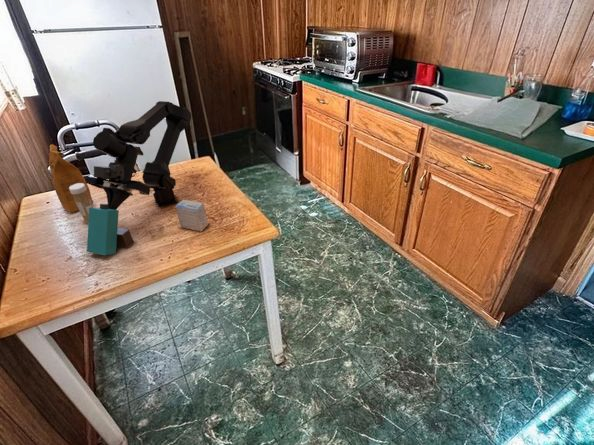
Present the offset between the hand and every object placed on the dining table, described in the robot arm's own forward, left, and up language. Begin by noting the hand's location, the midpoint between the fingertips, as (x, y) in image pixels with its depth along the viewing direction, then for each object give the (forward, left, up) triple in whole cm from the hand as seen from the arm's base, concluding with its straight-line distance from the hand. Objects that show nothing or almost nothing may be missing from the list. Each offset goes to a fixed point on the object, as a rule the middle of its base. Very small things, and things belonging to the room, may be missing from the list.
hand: (110, 212), depth 99 cm
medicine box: (-22, +5, -10) cm, 25 cm away
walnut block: (+1, +1, -10) cm, 10 cm away
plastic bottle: (+3, +3, -10) cm, 11 cm away
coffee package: (+12, -32, -10) cm, 36 cm away
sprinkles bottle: (+8, -17, -10) cm, 21 cm away
